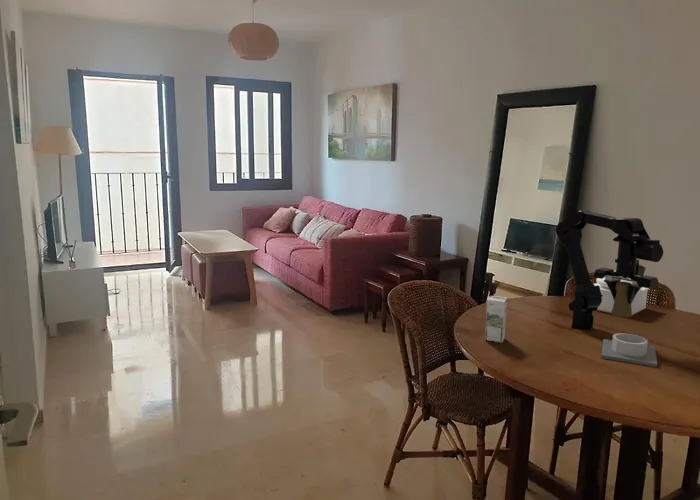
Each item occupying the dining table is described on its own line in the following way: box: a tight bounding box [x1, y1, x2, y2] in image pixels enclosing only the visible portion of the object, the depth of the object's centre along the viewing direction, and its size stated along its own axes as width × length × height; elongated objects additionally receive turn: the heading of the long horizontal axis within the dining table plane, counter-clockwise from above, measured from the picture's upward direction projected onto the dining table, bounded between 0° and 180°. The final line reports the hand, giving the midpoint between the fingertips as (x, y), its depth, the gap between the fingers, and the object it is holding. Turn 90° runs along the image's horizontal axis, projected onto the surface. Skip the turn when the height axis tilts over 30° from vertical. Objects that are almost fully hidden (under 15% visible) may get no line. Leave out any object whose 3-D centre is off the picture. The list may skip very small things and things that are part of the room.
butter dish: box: [593, 269, 650, 316], centre depth 217 cm, size 18×18×16 cm
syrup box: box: [484, 295, 508, 344], centre depth 179 cm, size 6×6×14 cm
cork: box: [611, 282, 633, 318], centre depth 178 cm, size 6×6×11 cm
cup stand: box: [600, 332, 658, 368], centre depth 169 cm, size 15×16×5 cm
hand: (622, 302), depth 178 cm, fingers closed on cork, 4 cm apart
